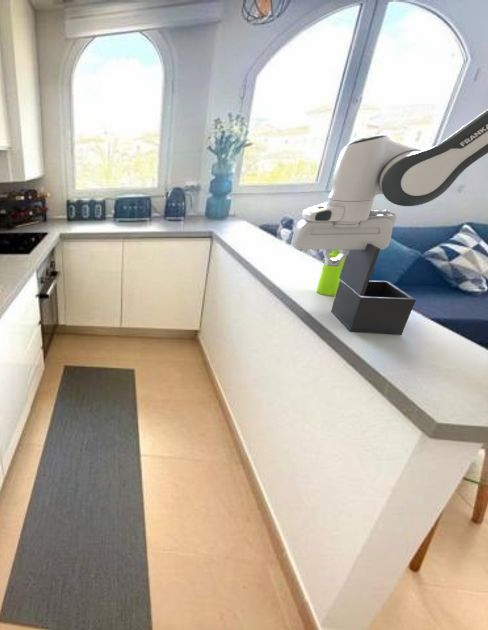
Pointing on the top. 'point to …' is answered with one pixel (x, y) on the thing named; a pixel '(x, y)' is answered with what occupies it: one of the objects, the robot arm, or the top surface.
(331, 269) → the soap dispenser
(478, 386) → the top surface
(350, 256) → the box lid
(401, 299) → the grey box
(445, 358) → the top surface
